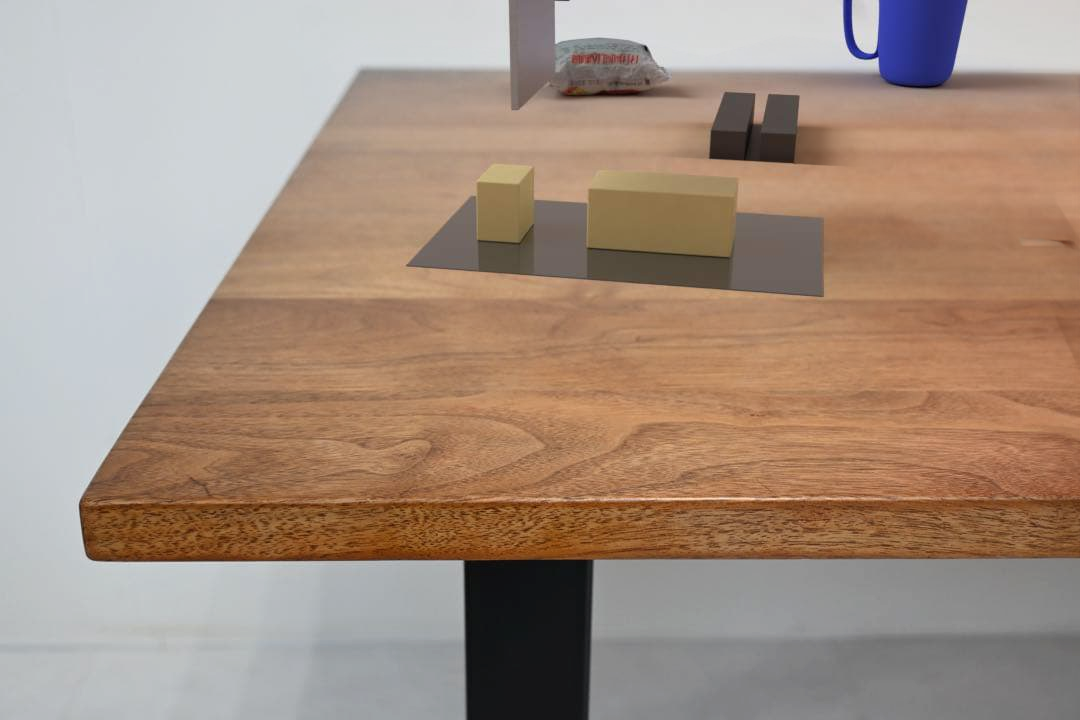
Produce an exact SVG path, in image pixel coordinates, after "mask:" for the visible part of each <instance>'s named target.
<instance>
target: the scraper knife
mask: <svg viewBox="0 0 1080 720" xmlns="http://www.w3.org/2000/svg"><path fill="white" fill-rule="evenodd" d="M508 26H509V27H508V30H509V33H508V34H509V68H510V69H509V77H510V78H509V80H510V109H511V111H520V109H522V107H523V106H524V105H526V104H527V103H528V102H529V101H530V100H531V99H532V98H533V97H534V96H535V95H536V94H538V92H539V91H540V90H541V89H543V87H545V86H546V85H547V84H548V83H549V81H550V80H551V79H552V78H553V77H554V76H555V44H556V1H555V0H508ZM547 82H548V83H547ZM546 83H547V84H546Z"/></svg>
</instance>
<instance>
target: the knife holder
mask: <svg viewBox="0 0 1080 720" xmlns="http://www.w3.org/2000/svg"><path fill="white" fill-rule="evenodd" d="M800 99H801V98H800V94H781V93H780V94H779V93H768V94H767V98H766V103H765V104H766V105H765V107H764V108H765V109H764V112H763V119H762V124H761V123H754V121H755V108H756V93H755V92H736V91H734V92H733V91H724V92H723V95H722V98H721V102H720V104H719V106H718V109H717V112H716V115H715V118H714V121H713V123H712V126H711V129H710V138H709V151H708V153H709V154H708V159H709V160H722V161H740V162H756V163H757V162H758V163H759V162H760V163H775V164H778V163H779V164H792V165H793V164H795V156H796V155H795V154H796V145H797V132H798V122H799V121H798V120H799V111H800V110H799V108H800Z"/></svg>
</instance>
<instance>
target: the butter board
mask: <svg viewBox="0 0 1080 720" xmlns="http://www.w3.org/2000/svg"><path fill="white" fill-rule="evenodd" d="M587 203H588V202H577V201H563V200H549V199H548V200H547V199H546V200H545V199H534V223H533V225H532V226H531V228H530V229H529V230H528V232H527V233H526V235H525V236H524V237H523V239H522V240H521V241H520V243H508V242H494V241H479V240H477V200H476V195H470V196H469V197H468V198H467V200H466V201H465V202H464V203H463V204H462V205H461V206H460V207H459V208H458V209H457V210H456V211H455V213H453V214H452V215H451V216H450V218H449V219H447V221H445V223H444V224H443V225H442V226H441V227H440V228H439V229H438V230H437V232H435V234H433V236H432V237H431V238H430V239H429V240H428V241H427V242H426V244H424V245H423V247H422V248H421V249H420V250H418V252H417V253H416V254H415V255H414V256H413V257H411V259H410V260H409V261H408V262H407V263H406V265H405V267H409V268H423V269H437V270H450V271H465V272H476V273H491V274H505V275H518V276H532V277H546V278H556V279H557V278H559V279H572V280H587V281H598V282H599V281H600V282H612V283H613V282H614V283H625V284H626V283H627V284H640V285H654V286H667V287H668V286H669V287H678V288H679V287H681V288H693V289H706V290H707V289H709V290H720V291H722V290H723V291H734V292H748V293H763V294H777V295H787V296H788V295H789V296H802V297H816V298H824V217H819V216H818V217H817V216H805V215H804V216H803V215H787V214H786V215H785V214H770V213H757V212H756V213H755V212H739V211H736V226H735V237H734V242H733V246H732V251H731V256H730V257H729V258H727V257H713V256H698V255H684V254H669V253H655V252H640V251H626V250H611V249H597V248H587Z"/></svg>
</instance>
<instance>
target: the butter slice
mask: <svg viewBox="0 0 1080 720" xmlns="http://www.w3.org/2000/svg"><path fill="white" fill-rule="evenodd" d="M475 188H476V189H475V190H476V193H475V194H476V195H475V196H476V200H477V240H479V241H494V242H508V243H520V241H521V240H522V239H523V237H524V236H525V235H526V233H527V232H528V230H529V229H530V228H531V226H532V225H533V223H534V200H535V166H534V165H525V164H524V165H523V164H506V163H505V164H504V163H492V164H491V165H490V166H489V167H488V169H486V171H484V172H483V174H481V176H479V178H478V179H477V180H476V182H475Z"/></svg>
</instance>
